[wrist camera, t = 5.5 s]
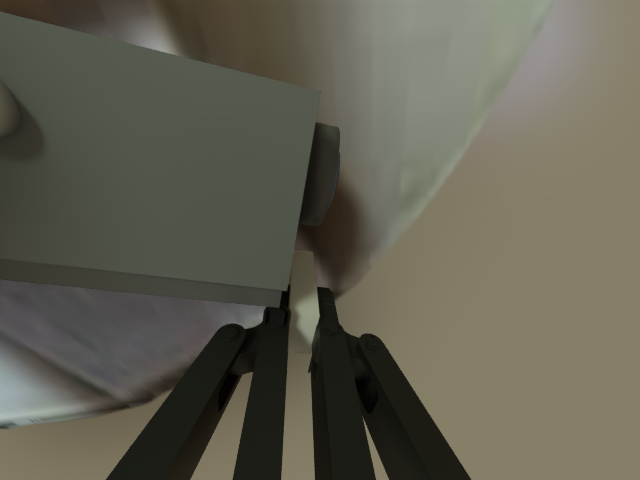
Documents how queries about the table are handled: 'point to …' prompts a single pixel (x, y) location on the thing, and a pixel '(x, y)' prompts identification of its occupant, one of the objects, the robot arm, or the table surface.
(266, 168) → the camera body
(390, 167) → the table surface
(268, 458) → the robot arm
